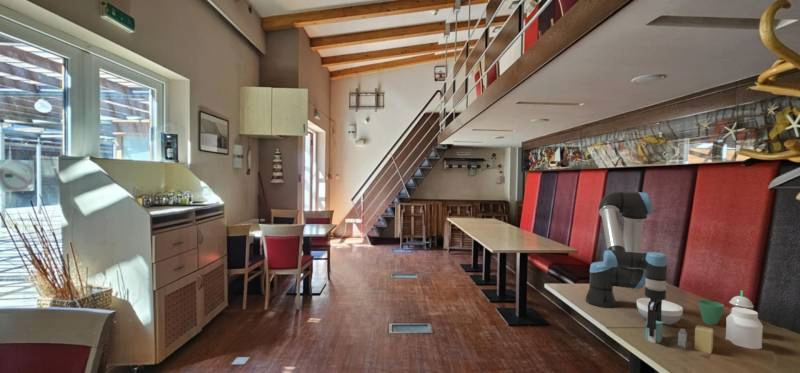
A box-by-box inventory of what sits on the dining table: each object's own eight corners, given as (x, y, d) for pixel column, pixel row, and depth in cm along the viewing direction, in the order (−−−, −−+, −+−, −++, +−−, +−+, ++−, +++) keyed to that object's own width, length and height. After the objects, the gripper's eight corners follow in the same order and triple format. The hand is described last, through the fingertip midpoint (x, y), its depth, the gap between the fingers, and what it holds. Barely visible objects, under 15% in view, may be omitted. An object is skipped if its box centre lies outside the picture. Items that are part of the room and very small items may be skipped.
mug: (726, 328, 174) (727, 307, 174) (700, 324, 178) (701, 304, 178) (716, 318, 187) (717, 299, 187) (692, 314, 191) (693, 296, 191)
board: (668, 349, 151) (668, 346, 151) (674, 340, 160) (674, 338, 160) (708, 360, 142) (708, 358, 142) (713, 351, 150) (713, 348, 150)
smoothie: (747, 338, 163) (749, 294, 163) (724, 331, 171) (726, 289, 170) (755, 334, 167) (757, 291, 167) (732, 328, 175) (734, 286, 174)
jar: (766, 352, 150) (767, 316, 149) (738, 349, 152) (739, 314, 152) (748, 340, 161) (749, 307, 161) (722, 337, 163) (723, 304, 163)
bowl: (684, 321, 182) (685, 304, 182) (680, 333, 168) (680, 314, 168) (639, 311, 195) (640, 295, 194) (632, 321, 181) (633, 304, 181)
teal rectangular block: (644, 341, 159) (645, 321, 158) (648, 337, 162) (648, 318, 162) (659, 345, 155) (659, 325, 155) (662, 341, 158) (662, 322, 158)
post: (677, 347, 151) (678, 329, 151) (679, 345, 153) (679, 327, 153) (685, 349, 149) (686, 331, 149) (686, 347, 151) (687, 329, 151)
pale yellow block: (694, 348, 150) (695, 328, 150) (696, 345, 153) (697, 324, 153) (710, 353, 146) (711, 332, 146) (712, 349, 150) (713, 328, 149)
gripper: (660, 295, 149) (658, 350, 149) (670, 286, 162) (669, 337, 162) (639, 290, 154) (637, 344, 155) (650, 282, 167) (649, 332, 168)
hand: (653, 340), depth 158 cm, fingers open, 6 cm apart
